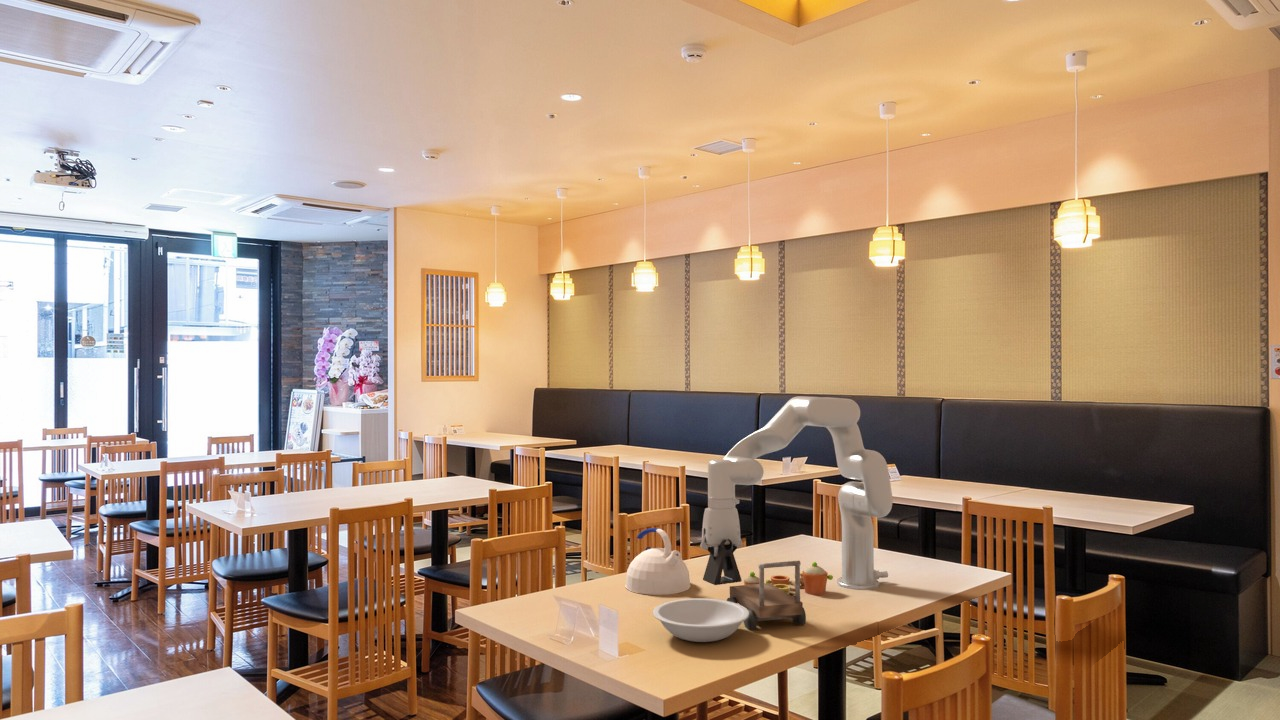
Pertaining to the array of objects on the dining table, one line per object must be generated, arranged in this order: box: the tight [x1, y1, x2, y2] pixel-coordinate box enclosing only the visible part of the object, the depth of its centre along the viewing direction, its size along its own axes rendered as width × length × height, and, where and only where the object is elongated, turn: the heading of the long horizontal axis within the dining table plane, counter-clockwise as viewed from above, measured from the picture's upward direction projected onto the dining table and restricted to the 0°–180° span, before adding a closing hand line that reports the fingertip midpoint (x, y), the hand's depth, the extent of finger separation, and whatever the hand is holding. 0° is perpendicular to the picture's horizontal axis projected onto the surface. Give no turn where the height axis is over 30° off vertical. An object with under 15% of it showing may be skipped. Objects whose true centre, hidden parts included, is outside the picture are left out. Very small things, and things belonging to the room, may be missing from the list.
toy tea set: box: [743, 561, 834, 598], centre depth 248 cm, size 26×16×10 cm, turn 114°
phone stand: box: [702, 539, 742, 586], centre depth 232 cm, size 9×6×12 cm, turn 117°
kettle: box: [624, 527, 692, 596], centre depth 256 cm, size 20×21×18 cm
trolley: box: [726, 560, 807, 631], centre depth 221 cm, size 15×20×18 cm
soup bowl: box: [652, 597, 749, 643], centre depth 208 cm, size 24×24×7 cm
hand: (721, 569), depth 232 cm, fingers closed on phone stand, 2 cm apart
